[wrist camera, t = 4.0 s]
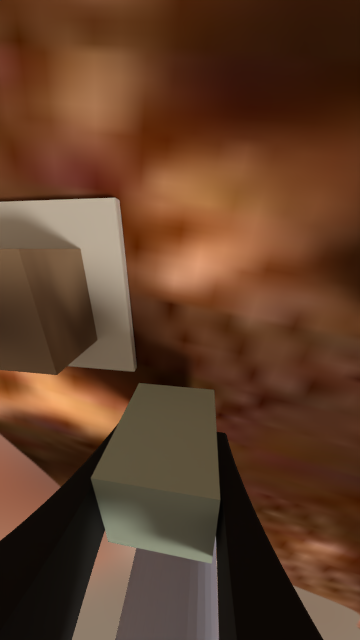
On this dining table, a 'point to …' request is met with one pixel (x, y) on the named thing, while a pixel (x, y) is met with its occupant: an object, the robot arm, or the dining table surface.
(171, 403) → the sage block
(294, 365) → the dining table surface
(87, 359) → the stone tile
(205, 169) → the dining table surface
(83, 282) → the walnut block
